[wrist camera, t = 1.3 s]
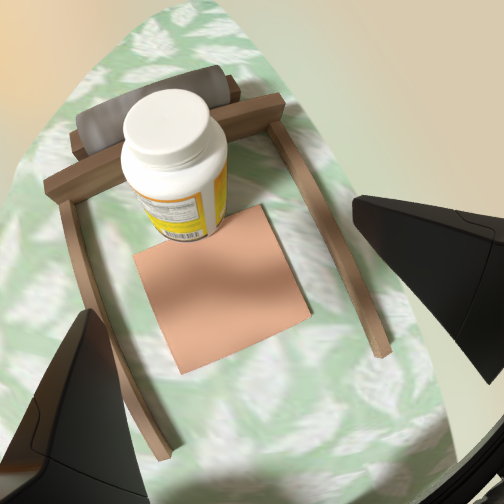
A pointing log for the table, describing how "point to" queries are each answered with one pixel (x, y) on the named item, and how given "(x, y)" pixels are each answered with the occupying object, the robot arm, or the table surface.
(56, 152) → the table surface
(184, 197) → the supplement bottle
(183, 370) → the frame
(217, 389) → the table surface
